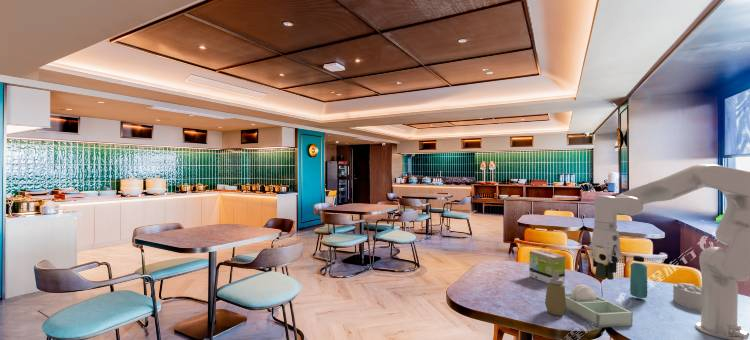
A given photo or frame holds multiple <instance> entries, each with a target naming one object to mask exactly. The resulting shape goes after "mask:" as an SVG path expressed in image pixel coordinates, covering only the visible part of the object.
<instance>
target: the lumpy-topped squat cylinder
mask: <svg viewBox="0 0 750 340" xmlns="http://www.w3.org/2000/svg"><path fill="white" fill-rule="evenodd" d="M672 293H673V295H672V298H673V299H672V300H673V302H675V303H676V304H678V305H679V306H681V307H685V308H687V309H690V310H691V309H692V310H695V311H701V297H702V285H701V286H696V285H695V284H694V283H686V282H678V283H674V284H673V291H672Z"/></svg>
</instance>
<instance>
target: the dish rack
mask: <svg viewBox="0 0 750 340" xmlns="http://www.w3.org/2000/svg"><path fill="white" fill-rule="evenodd" d="M565 296H566V309H565V310H567V311H568V312H571V314H572V313H573V315H575V316H578V317H579V318H581V317H582V318H584V319H585V320H584V319H583V320H584V321H586V320H588V321H589V322H591V323H593V324H594V325H596V326H595V327H596V328H599V329H600V328H612V327H614V328H615V327H627V326H628V327H630V326H633V321H634V320H633V318H634V317H633V316H634V315H633V311H631V310H629V309H626V308H624V307H621V306H620V305H617V304H615V303H613V302H611V301H609V300H606V298H604V297H603V298H602V297H601V296H598V295H596V300H588V301H576V299H572V292H565ZM582 318H581V319H582ZM588 321H587V322H588ZM589 322H588V323H589ZM591 323H590V324H591ZM593 324H592V325H593ZM594 325H593V326H594Z"/></svg>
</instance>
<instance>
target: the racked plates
mask: <svg viewBox="0 0 750 340" xmlns="http://www.w3.org/2000/svg"><path fill="white" fill-rule="evenodd" d="M571 293H572V299H576V301H588V300H596V296H597V295H596V292H595V290H594V289H593V288H591V287H589V286H587V285H585V284H579V285H576V286H575V287H574V288H573V289H572V291H571Z"/></svg>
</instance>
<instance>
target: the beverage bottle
mask: <svg viewBox="0 0 750 340" xmlns="http://www.w3.org/2000/svg"><path fill="white" fill-rule="evenodd" d="M632 261H634V262H632V263H631V264H630V274H629V275H630V278H629V280H630V282H629V283H630V284H629V286H630V287H629V288H630V289H629V293H630V296H632V297H634V298H639V299H646V298H648V290H649V289H648V265H646V264H644V263H645V257H644V256H640V255H634V256H633V259H632Z"/></svg>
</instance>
